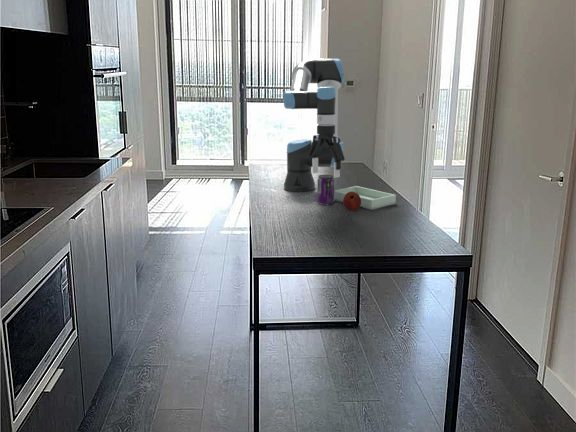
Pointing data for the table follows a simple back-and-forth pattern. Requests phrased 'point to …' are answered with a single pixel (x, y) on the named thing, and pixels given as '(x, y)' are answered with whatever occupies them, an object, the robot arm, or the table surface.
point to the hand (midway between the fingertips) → (325, 175)
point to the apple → (352, 201)
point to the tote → (367, 197)
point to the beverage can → (325, 189)
